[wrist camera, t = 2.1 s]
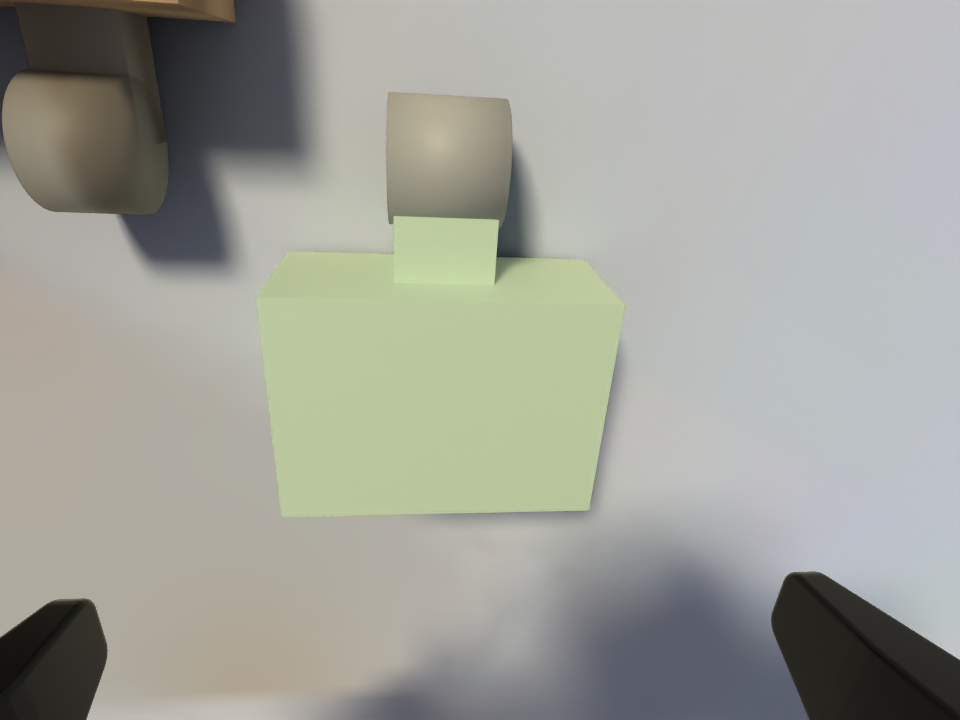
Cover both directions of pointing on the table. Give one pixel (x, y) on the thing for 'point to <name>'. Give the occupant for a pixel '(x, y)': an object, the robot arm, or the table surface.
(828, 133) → the table surface
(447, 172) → the hinge leaf
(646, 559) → the table surface
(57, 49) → the hinge base
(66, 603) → the robot arm
